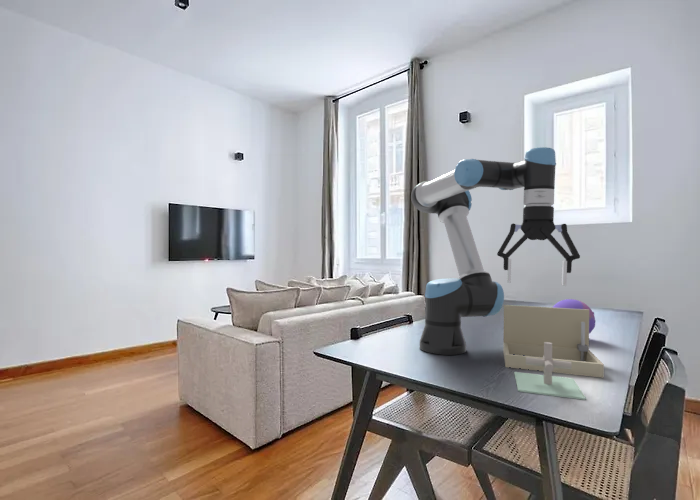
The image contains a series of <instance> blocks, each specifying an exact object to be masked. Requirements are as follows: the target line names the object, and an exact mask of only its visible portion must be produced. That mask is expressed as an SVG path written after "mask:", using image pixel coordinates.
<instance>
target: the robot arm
mask: <svg viewBox="0 0 700 500" xmlns="http://www.w3.org/2000/svg"><path fill="white" fill-rule="evenodd" d="M523 159H524V160H521V161H516V162H507V161H498V160H497V161H495V160H483V159H477V158H468V159H466V158H464V159H461V160H460V161H458V163H457V164H456V166H455V168H454V170H452V171H450V172H447V173H445V174H442V175H441V176H439V177H437V178H435V179H433V180H430V181H429V180H424V181H422V182H420V183H418V184H417V185H415V186H414V188H413V189H412V191H411V193H410V194H411V195H410V199H411V203H412V205H413V206H414V208H416V210H418V211H420V212H421V213H425V214H434V215H437V218H438V220H439V222H441V223H443V224H444V227H445V231H446V235H447V237H448V240H449V241H448V242H449V243H450V244H449V245H450V247H451V251H452V254H453V258H454V262H455V265H456V269H457V273H458V276H459V278H458V277H457V278H456V277H450V278H437V279H433V280H431V281H429V282H427V283H426V286H425V292H424V293H425V294H424V297H425V300H424V301H425V303H424V308H425V310H424V312H425V313H424V314H425V315H424V320H425V321H424V328H423V330H422V333H421V336H420V339H419V349H420V350H421V351H423V352H426V353H429V354H433V355H434V354H435V355H442V356H454V355H455V356H456V355H462V354H464V353H466V352H467V342H466V340H465V336H464V333H463V328H462V318H471V317H485V318H486V317H490V316H495V315H497V314H498V313H499V312H501V310H502V308H503V306H504V305H503V304H504V302H505V292H504V288H503V286H502V285H501V284H500V283H499V282H497V281H493V279H492V277H491V274H490V273H489V272H488V271H485V270H484V267H483V263H482V260H481V258H480V255H479V251H478V248H477V245H476V242H475V238H474V236H473V233H472V230H471V227H470V224H469V220H468V218H467V217H468V216H469V213H470V210H471V208H472V200H473V199H472V193H470V190H474V189H477V188H494V189H497V188H498V189H499V190H502V191H508V190H509V191H513V190H515V189H521V188H523V205H524V207H523V209H522V223H521V224H517V223H511V224H510V227H509V232H508V234H507V235H506V237H505V239H504V240H503V243H502V244H501V246H500V248H499V250H497V254H496V255H497V256H498V257H500V258H503V271H507V283H509V284H510V283H511V280H512V279H511V278H512V276H511V275H512V258H510V256H512V255H513V254H514V253H515V251H517V250H518V249H519V248H520V247H521V246H522V244H523V243H525V242H526V241H527V240H531V241H535V240H538V241H545V240H548V241H549V242H550V244H551V245H552V246H553V247H554V248H555V249H556V250H557V252H558V253H560V255H561V256H562V257H563V258H564V259H565V260H562V265H561V285H562V286H565V287H566V286H567V279H568V278H567V274H571V273H572V263H573V261H575V260H578V259H580V258H581V255H580V254H579V252H578V249H577V247H576V246H575V244H574V242H573V240H572V238H571V236H570V234H569V233H568V225H567V224H566V223H561V224H555V223H554V219H555V218H554V215H555V207H554V206H552V205H555V188H556V187H555V184H556V166H557V163H556V162H557V160H556V151H555V149H554V148H552V147H547V146H546V147H545V146H544V147H543V146H542V147H541V146H540V147H533V148H530V149H528V150H526V152H525V154H524V157H523ZM519 230H521V231H522V232H523V235H522V236H521V237H520V238H519V240H517V241H516V242H515V243H514V245H512V246H511V247H510V249H509V250H507V252H506V253H505V250H506V248H507V246H508V245H509V244H510V241H511V239H512V238H513V236H514V234H515V233H517V232H518V231H519ZM555 230H557V232H558V233H560V234H561V236H562V238H563V240H564V241H565V244H566V245H567V248H568V250H569V252H570V253H571V254H569V253H568V252H567V251H566V249H564V247H563V246H562V245H561V244H560V243H559V242H558V241H557V239H556V238H555V237H554V236H553V235H552V233H553V232H554V231H555Z"/></svg>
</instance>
